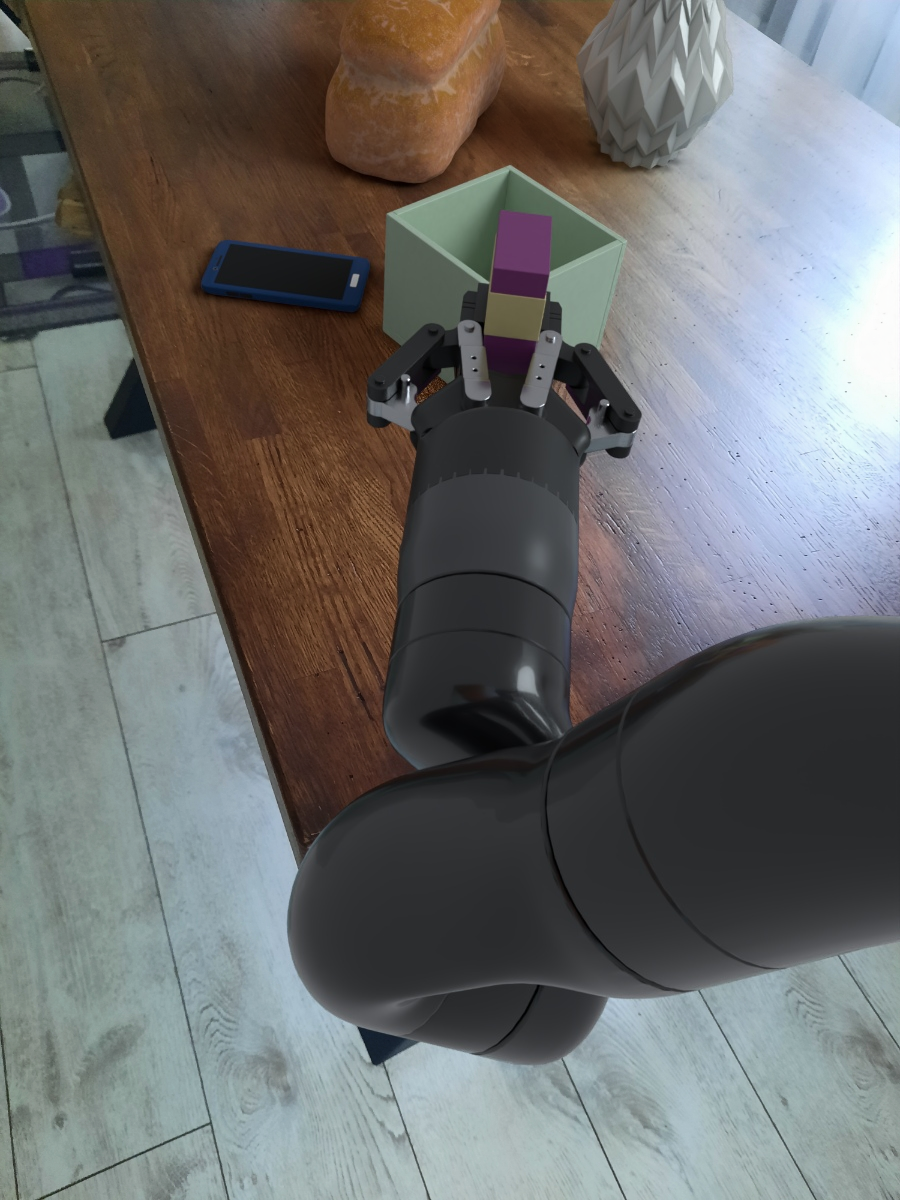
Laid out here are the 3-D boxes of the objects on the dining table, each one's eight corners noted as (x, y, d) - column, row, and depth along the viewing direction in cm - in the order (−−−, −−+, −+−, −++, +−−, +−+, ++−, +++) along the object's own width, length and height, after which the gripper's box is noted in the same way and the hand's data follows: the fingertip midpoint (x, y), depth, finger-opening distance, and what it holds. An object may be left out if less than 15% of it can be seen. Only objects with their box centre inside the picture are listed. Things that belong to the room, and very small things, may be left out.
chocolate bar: (474, 397, 55) (498, 208, 46) (519, 403, 55) (553, 215, 46) (467, 457, 52) (492, 268, 42) (515, 463, 52) (550, 275, 42)
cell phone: (358, 314, 80) (358, 306, 79) (198, 292, 80) (197, 285, 79) (371, 265, 85) (371, 258, 84) (219, 245, 84) (219, 237, 84)
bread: (312, 166, 94) (306, -1, 82) (402, 63, 110) (408, -90, 97) (437, 199, 92) (450, 33, 80) (511, 90, 108) (531, -63, 96)
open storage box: (494, 278, 85) (510, 164, 77) (598, 354, 80) (628, 240, 71) (382, 330, 79) (385, 213, 71) (486, 415, 74) (504, 300, 65)
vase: (532, 137, 101) (562, -60, 87) (633, 101, 109) (677, -86, 94) (640, 207, 95) (692, 6, 80) (740, 163, 102) (805, -28, 87)
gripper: (675, 501, 37) (657, 254, 47) (326, 458, 37) (385, 220, 47) (631, 612, 43) (623, 372, 53) (330, 575, 43) (382, 341, 53)
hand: (511, 301), depth 50 cm, fingers closed on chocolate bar, 2 cm apart
